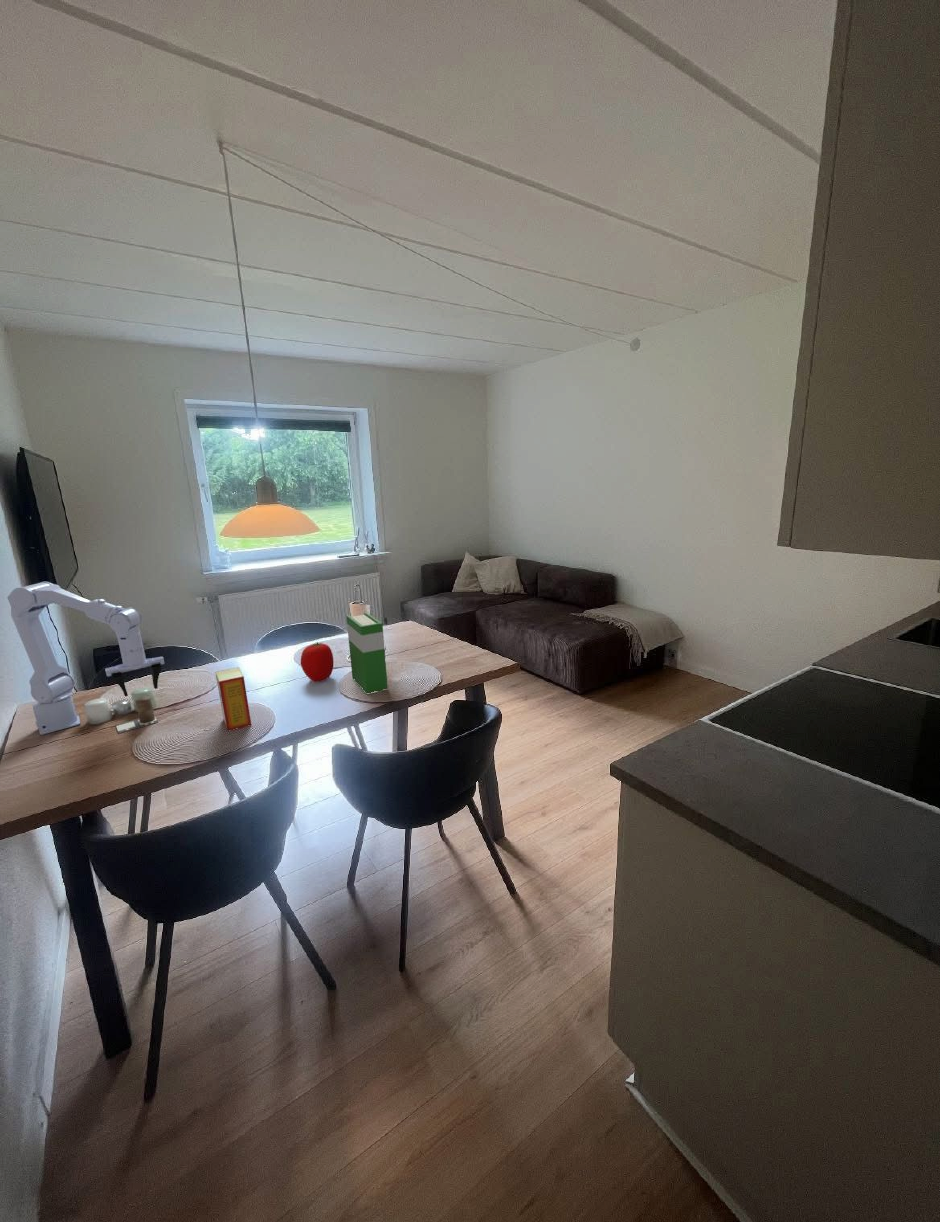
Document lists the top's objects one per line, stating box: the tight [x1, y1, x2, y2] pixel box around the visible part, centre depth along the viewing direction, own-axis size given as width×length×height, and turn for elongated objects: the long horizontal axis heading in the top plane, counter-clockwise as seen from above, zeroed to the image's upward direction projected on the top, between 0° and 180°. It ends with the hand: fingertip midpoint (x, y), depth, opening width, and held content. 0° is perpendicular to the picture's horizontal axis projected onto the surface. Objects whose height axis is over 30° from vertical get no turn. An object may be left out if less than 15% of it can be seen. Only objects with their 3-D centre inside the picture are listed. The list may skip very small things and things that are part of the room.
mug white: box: [84, 697, 113, 725], centre depth 153 cm, size 6×8×6 cm
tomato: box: [300, 642, 334, 683], centre depth 178 cm, size 13×11×14 cm
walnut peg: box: [135, 696, 156, 723], centre depth 150 cm, size 4×4×7 cm
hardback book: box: [345, 611, 389, 694], centre depth 171 cm, size 18×7×24 cm, turn 29°
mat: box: [115, 716, 159, 734], centre depth 149 cm, size 10×7×1 cm
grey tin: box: [111, 699, 133, 717], centre depth 157 cm, size 5×5×4 cm
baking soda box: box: [214, 666, 252, 732], centre depth 146 cm, size 10×6×16 cm
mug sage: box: [130, 686, 157, 713], centre depth 160 cm, size 6×8×6 cm
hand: (141, 691), depth 148 cm, fingers open, 7 cm apart
